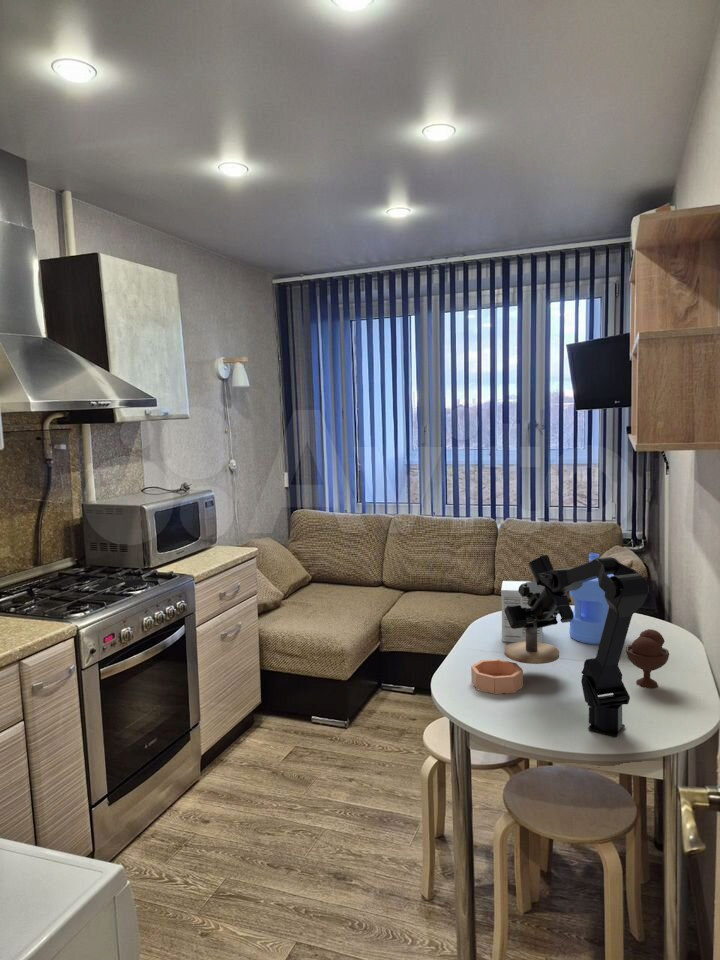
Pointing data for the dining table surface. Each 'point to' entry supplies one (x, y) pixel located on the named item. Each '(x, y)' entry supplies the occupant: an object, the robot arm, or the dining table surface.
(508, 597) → the supplement box
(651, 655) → the ice cream bowl
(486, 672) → the terracotta bowl
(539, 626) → the robot arm
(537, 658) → the walnut lid
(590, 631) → the water jug
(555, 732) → the dining table surface
